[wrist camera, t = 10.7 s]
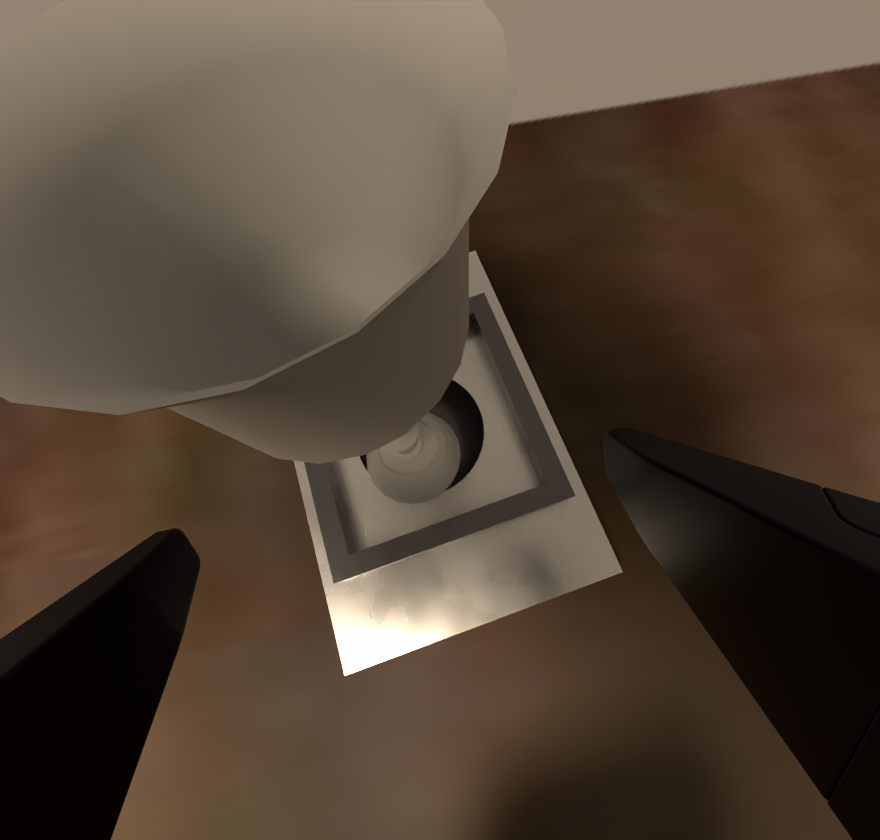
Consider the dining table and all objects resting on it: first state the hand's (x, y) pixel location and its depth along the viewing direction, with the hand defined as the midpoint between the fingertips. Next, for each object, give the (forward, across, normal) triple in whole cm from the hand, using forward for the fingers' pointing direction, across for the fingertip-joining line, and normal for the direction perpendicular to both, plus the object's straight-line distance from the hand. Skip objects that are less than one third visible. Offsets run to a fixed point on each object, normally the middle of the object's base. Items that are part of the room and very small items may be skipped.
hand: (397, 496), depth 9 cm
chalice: (+12, +1, +6) cm, 13 cm away
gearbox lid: (+13, 0, +6) cm, 14 cm away
